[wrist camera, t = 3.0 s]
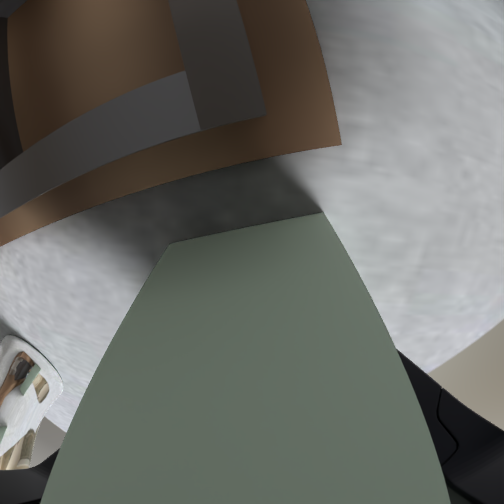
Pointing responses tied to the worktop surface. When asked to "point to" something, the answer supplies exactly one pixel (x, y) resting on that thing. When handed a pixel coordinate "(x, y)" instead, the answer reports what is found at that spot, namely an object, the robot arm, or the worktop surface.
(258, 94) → the socket board
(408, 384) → the sage peg
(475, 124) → the worktop surface
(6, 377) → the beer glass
